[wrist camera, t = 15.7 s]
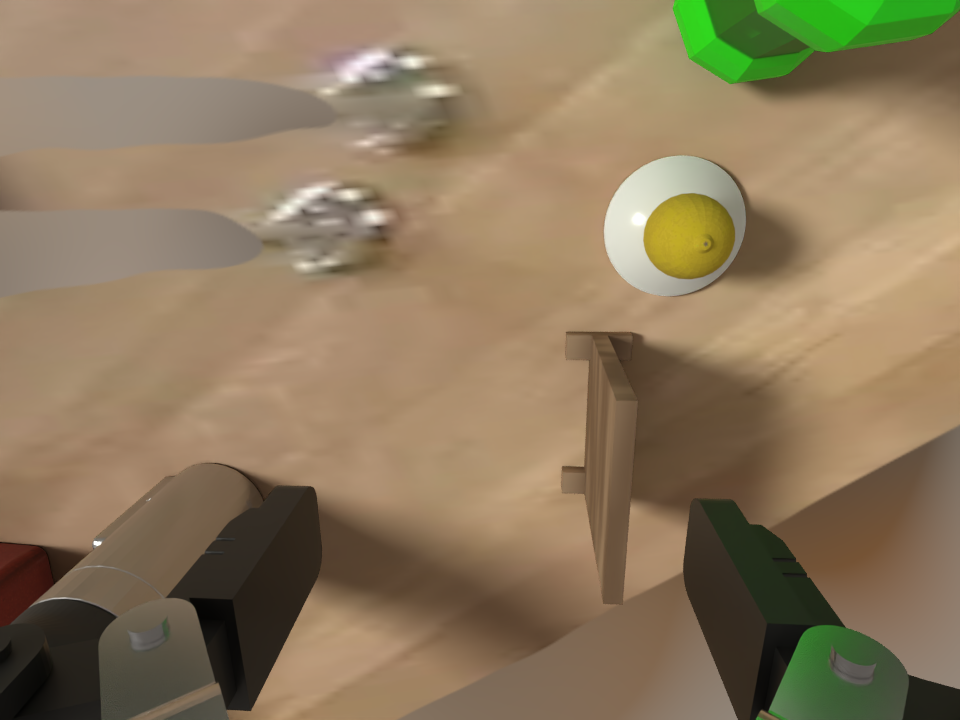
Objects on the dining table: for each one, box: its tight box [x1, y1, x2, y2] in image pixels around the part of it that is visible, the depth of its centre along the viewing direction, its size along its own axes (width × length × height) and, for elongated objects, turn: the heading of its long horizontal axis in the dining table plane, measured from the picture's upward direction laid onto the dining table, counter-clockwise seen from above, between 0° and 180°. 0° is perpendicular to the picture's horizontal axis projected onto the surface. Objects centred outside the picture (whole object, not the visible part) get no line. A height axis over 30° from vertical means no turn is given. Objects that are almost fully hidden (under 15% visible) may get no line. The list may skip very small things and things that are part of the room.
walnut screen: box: [561, 332, 638, 605], centre depth 41 cm, size 5×14×14 cm, turn 1°
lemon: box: [643, 193, 735, 279], centre depth 38 cm, size 6×6×8 cm
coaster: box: [604, 156, 746, 296], centre depth 42 cm, size 10×10×1 cm
